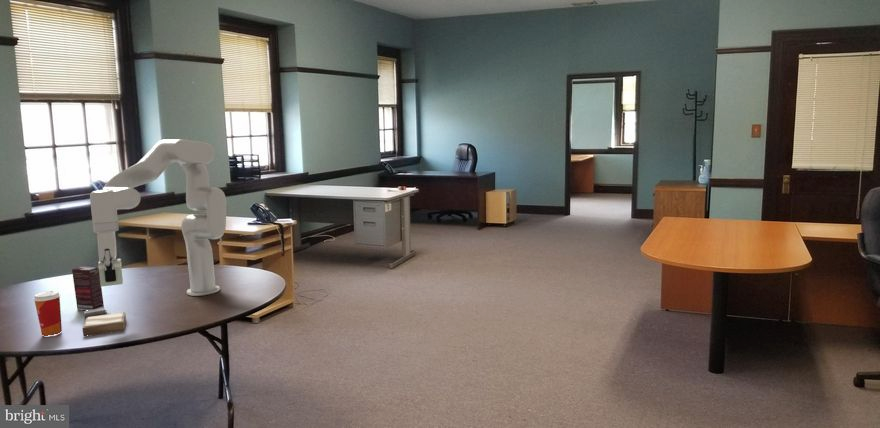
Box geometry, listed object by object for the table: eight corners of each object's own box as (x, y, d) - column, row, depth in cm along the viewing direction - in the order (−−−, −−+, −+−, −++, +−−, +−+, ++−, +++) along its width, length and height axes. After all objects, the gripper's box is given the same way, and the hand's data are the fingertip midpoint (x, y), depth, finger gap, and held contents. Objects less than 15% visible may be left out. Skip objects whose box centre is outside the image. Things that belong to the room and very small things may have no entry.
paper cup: (46, 331, 214) (40, 291, 212) (69, 329, 215) (64, 289, 212) (33, 339, 206) (27, 297, 204) (58, 337, 207) (52, 296, 205)
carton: (101, 283, 216) (99, 260, 215) (123, 281, 219) (120, 258, 218) (100, 286, 212) (98, 263, 211) (122, 284, 215) (120, 261, 214)
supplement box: (104, 308, 239) (99, 267, 236) (94, 311, 234) (88, 270, 231) (87, 306, 241) (82, 265, 239) (76, 310, 237) (71, 269, 234)
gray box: (84, 321, 223) (83, 310, 223) (107, 317, 227) (105, 307, 227) (85, 324, 220) (84, 313, 219) (108, 320, 224) (106, 309, 223)
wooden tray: (87, 325, 218) (86, 316, 218) (126, 320, 223) (125, 311, 222) (83, 336, 207) (82, 327, 207) (124, 330, 212) (123, 321, 211)
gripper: (95, 224, 219) (101, 276, 222) (90, 231, 204) (96, 286, 206) (119, 222, 222) (124, 273, 224) (116, 229, 207) (122, 284, 209)
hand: (111, 279), depth 215 cm, fingers closed on carton, 4 cm apart
